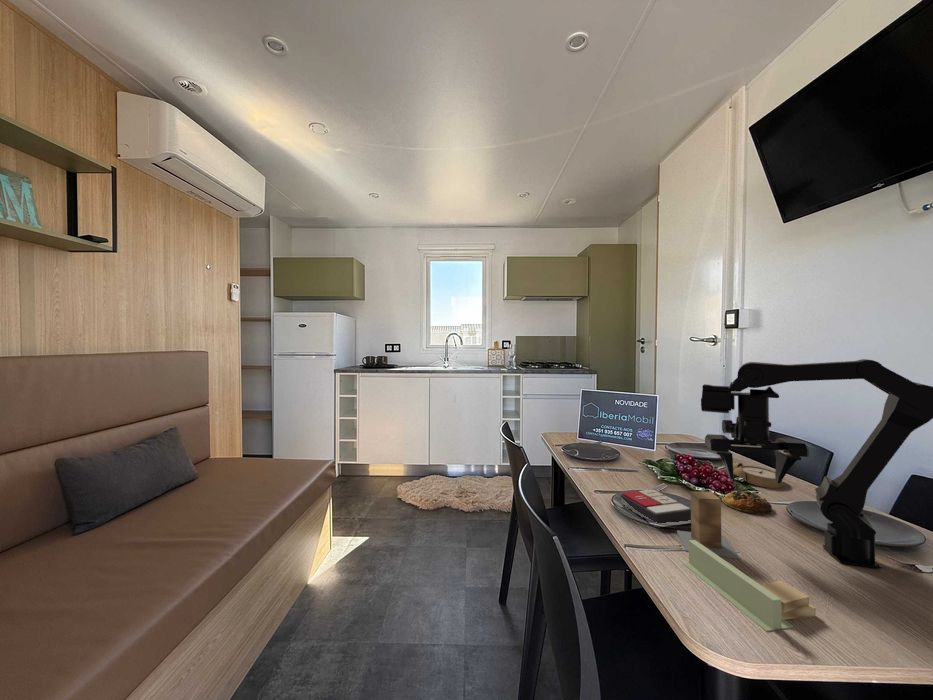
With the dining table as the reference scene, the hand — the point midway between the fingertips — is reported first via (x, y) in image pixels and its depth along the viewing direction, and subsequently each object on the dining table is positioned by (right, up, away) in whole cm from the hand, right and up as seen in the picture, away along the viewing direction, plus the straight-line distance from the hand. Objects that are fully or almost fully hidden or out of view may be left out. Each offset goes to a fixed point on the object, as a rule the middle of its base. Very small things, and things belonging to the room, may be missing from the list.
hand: (754, 480), depth 86 cm
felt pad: (-14, -13, -3) cm, 19 cm away
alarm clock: (+26, -12, +34) cm, 45 cm away
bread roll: (+10, -13, +16) cm, 23 cm away
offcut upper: (-14, -12, -24) cm, 30 cm away
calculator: (-17, -14, +13) cm, 25 cm away
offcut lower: (-14, -14, -23) cm, 30 cm away
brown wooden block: (-14, -13, -3) cm, 19 cm away
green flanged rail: (-19, -14, -19) cm, 30 cm away
